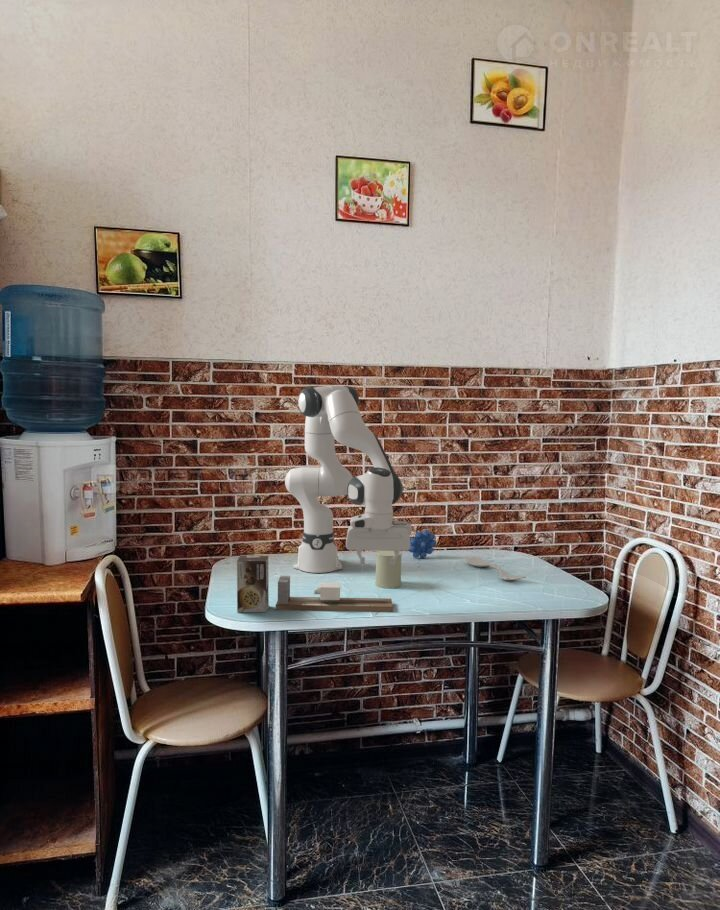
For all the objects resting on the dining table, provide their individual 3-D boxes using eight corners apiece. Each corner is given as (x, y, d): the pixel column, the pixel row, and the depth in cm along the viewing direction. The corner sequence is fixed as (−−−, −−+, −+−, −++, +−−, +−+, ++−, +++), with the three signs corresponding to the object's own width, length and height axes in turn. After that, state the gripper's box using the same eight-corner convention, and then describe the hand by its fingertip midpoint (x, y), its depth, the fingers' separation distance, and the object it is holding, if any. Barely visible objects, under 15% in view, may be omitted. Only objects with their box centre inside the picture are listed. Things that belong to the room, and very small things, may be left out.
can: (402, 588, 212) (403, 554, 211) (376, 588, 212) (377, 554, 211) (399, 580, 222) (400, 548, 221) (373, 580, 221) (374, 548, 220)
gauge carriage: (314, 596, 195) (315, 582, 195) (340, 596, 195) (340, 582, 195) (313, 603, 188) (313, 588, 188) (339, 603, 188) (339, 589, 188)
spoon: (505, 586, 219) (505, 576, 218) (461, 563, 249) (461, 554, 248) (526, 584, 222) (527, 574, 221) (480, 561, 252) (480, 553, 251)
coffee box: (269, 605, 192) (269, 555, 190) (266, 613, 185) (267, 560, 184) (239, 605, 192) (239, 554, 190) (236, 612, 185) (236, 560, 184)
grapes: (433, 555, 259) (434, 527, 258) (437, 559, 252) (438, 531, 251) (406, 555, 257) (407, 527, 256) (409, 560, 251) (410, 531, 250)
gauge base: (279, 601, 197) (279, 575, 196) (391, 603, 197) (391, 577, 196) (275, 609, 189) (276, 582, 188) (392, 611, 189) (393, 584, 188)
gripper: (411, 518, 194) (409, 561, 195) (346, 517, 194) (345, 560, 195) (412, 523, 188) (411, 567, 189) (346, 522, 187) (345, 566, 189)
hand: (377, 563), depth 192 cm, fingers open, 8 cm apart
